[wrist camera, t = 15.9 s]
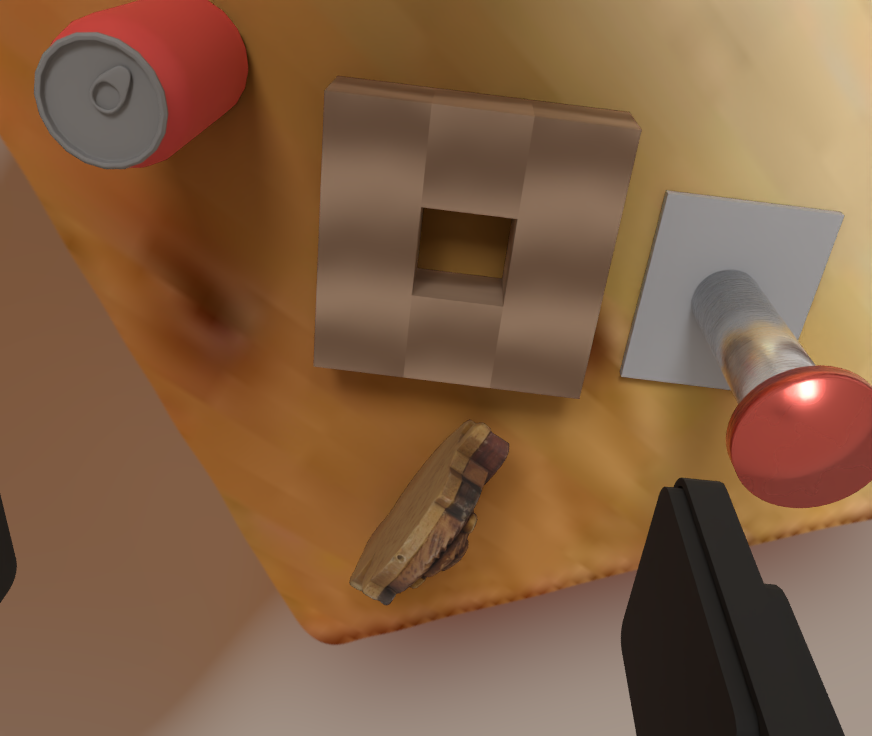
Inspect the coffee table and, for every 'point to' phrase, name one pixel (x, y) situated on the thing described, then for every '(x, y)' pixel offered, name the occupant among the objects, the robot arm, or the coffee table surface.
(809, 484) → the peg
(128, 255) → the coffee table surface
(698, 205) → the mat
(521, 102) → the eye block
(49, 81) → the beer can
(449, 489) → the wooden carving
